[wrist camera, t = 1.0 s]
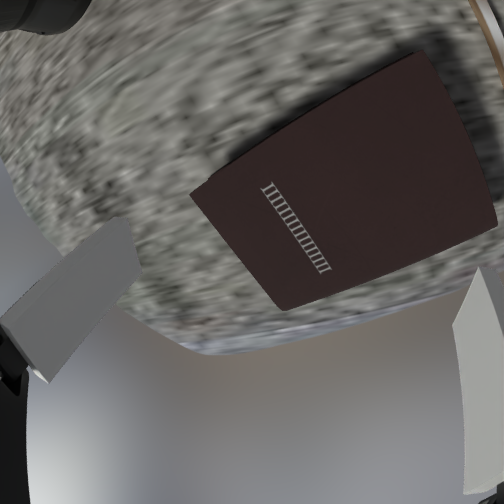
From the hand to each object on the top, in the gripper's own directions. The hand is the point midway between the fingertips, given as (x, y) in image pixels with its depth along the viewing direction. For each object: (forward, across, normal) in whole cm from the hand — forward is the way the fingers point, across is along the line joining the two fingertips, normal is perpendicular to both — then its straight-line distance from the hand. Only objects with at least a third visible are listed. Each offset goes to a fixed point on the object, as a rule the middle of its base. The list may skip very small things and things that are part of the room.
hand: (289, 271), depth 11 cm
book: (+26, +2, -7) cm, 27 cm away
